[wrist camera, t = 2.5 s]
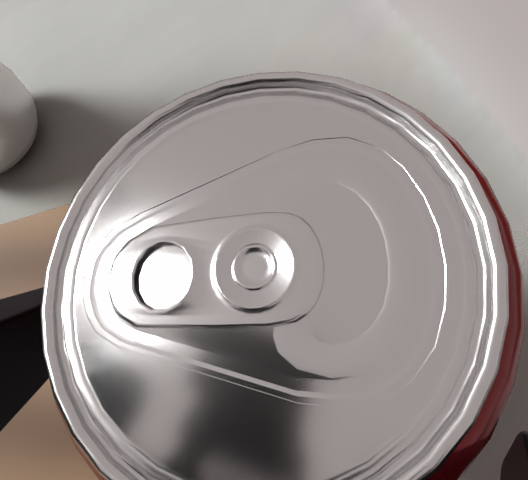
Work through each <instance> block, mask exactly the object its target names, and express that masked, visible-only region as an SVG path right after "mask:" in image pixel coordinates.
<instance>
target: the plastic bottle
mask: <svg viewBox="0 0 528 480" xmlns="http://www.w3.org/2000/svg"><path fill="white" fill-rule="evenodd" d="M37 128H38V118H37V112H36V107H35V103H34V100H33V97H32V95H31V94H30V92H29V91H28V90H27V89H26V87H25V86H24V85H23V84H22V82H21V81H20V80H19V79H18V78H17V76H16V75H15V74H14V73H13V72H12V70H11V69H9V68H8V67H7V66H5V65H4V64H2V63H1V62H0V173H2V172H4V171H6V170H8V169H9V168H11V167H13V166H14V165H15V164H16V163H17V162H19V161H20V160H21V159H22V158H23V156H24V155H25V154H26V153H27V151H28V150H29V148H30V147H31V145H32V143H33V141H34V139H35V136H36V132H37Z"/></svg>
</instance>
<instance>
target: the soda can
mask: <svg viewBox="0 0 528 480" xmlns="http://www.w3.org/2000/svg"><path fill="white" fill-rule="evenodd" d="M41 321H42V340H43V355H44V359H45V363H46V368H47V372H48V376H49V380H50V384H51V388H52V393H53V397H54V399H55V403H56V406H57V409H58V411H59V413H60V415H61V417H62V420H63V422H64V424H65V426H66V428H67V430H68V433H69V435H70V437H71V439H72V441H73V444H74V446H75V448H76V449H77V450H78V452H79V453H80V455H81V456H82V457H83V459H84V460H85V461H86V463H87V464H88V465H89V467H90V468H91V470H92V471H93V472H94V474H95V475H96V476H97V478H98V479H99V480H459V479H460V478H461V476H462V475H463V474H464V472H465V471H466V470H467V469H468V467H469V466H470V465H471V463H472V462H473V461H474V459H475V458H476V457H477V455H478V454H479V453H480V451H481V450H482V449H483V447H484V446H485V445H486V444H487V442H488V441H489V440H490V438H491V436H492V434H493V431H494V429H495V427H496V425H497V422H498V420H499V418H500V416H501V413H502V411H503V409H504V407H505V404H506V402H507V400H508V398H509V395H510V393H511V391H512V389H513V387H514V382H515V377H516V372H517V367H518V362H519V357H520V352H521V347H522V341H523V336H524V331H525V326H524V293H523V275H522V271H521V267H520V263H519V259H518V255H517V251H516V247H515V243H514V239H513V235H512V231H511V228H510V225H509V222H508V220H507V218H506V216H505V214H504V212H503V210H502V208H501V206H500V204H499V202H498V200H497V198H496V196H495V194H494V192H493V190H492V188H491V186H490V184H489V182H488V180H487V178H486V177H485V176H484V175H483V173H482V172H481V171H480V170H479V168H478V167H477V166H476V165H475V163H474V162H473V161H472V160H471V158H470V157H469V156H468V155H467V153H466V152H465V151H464V150H463V148H462V147H461V146H460V144H459V143H458V142H457V141H456V140H455V139H453V138H452V137H451V136H450V135H449V134H447V133H446V132H445V131H444V130H443V129H441V128H440V127H439V126H438V125H437V124H435V123H434V122H433V121H432V120H431V119H429V118H428V117H427V116H426V115H425V114H423V113H422V112H420V111H418V110H416V109H414V108H413V107H411V106H409V105H407V104H405V103H404V102H402V101H400V100H398V99H396V98H395V97H393V96H391V95H389V94H387V93H385V92H382V91H379V90H376V89H373V88H370V87H367V86H364V85H361V84H358V83H355V82H352V81H349V80H346V79H342V78H339V77H333V76H326V75H318V74H311V73H304V72H273V73H256V74H251V75H246V76H241V77H236V78H231V79H226V80H221V81H219V82H216V83H213V84H210V85H208V86H205V87H202V88H200V89H197V90H194V91H192V92H189V93H186V94H184V95H183V96H181V97H179V98H177V99H175V100H174V101H172V102H170V103H168V104H167V105H165V106H163V107H161V108H159V109H158V110H156V111H154V112H152V113H151V114H150V115H149V116H147V117H146V118H145V119H143V120H142V121H141V122H140V123H138V124H137V125H136V126H134V127H133V128H132V129H131V130H129V131H128V132H127V133H126V134H124V135H123V136H122V137H121V138H120V139H119V140H118V141H117V142H116V143H115V144H114V145H113V147H112V148H111V149H110V150H109V151H108V152H107V153H106V154H105V155H104V156H103V157H102V158H101V159H100V160H99V161H98V162H97V164H96V165H95V166H94V168H93V169H92V171H91V172H90V174H89V175H88V177H87V178H86V179H85V181H84V182H83V184H82V185H81V187H80V188H79V190H78V191H77V193H76V194H75V195H74V197H73V200H72V202H71V204H70V206H69V208H68V210H67V212H66V214H65V216H64V218H63V220H62V222H61V225H60V227H59V229H58V231H57V234H56V237H55V241H54V244H53V247H52V251H51V254H50V258H49V261H48V264H47V268H46V273H45V281H44V290H43V298H42V306H41Z"/></svg>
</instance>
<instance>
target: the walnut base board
mask: <svg viewBox="0 0 528 480" xmlns="http://www.w3.org/2000/svg"><path fill="white" fill-rule="evenodd" d="M69 206H70V204H67V205H64V206H61V207H58V208H54V209H51V210H48V211H45V212H41V213H38V214H35V215H31V216H28V217H25V218H22V219H18V220H15V221H12V222H8V223H5V224H2V225H0V299H3V298H6V297H10V296H14V295H17V294H21V293H24V292H28V291H32V290H35V289H39V288H42V287H44V281H45V273H46V268H47V264H48V261H49V258H50V254H51V251H52V247H53V244H54V241H55V237H56V234H57V231H58V229H59V227H60V225H61V222H62V220H63V218H64V216H65V214H66V212H67V210H68V208H69ZM0 480H99V479H98V478H97V476H96V475H95V474H94V472H93V471H92V470H91V468H90V467H89V465H88V464H87V463H86V461H85V460H84V459H83V457H82V456H81V455H80V453H79V452H78V450H77V449H76V448H75V446H74V444H73V441H72V439H71V437H70V435H69V433H68V430H67V428H66V426H65V424H64V422H63V420H62V417H61V415H60V413H59V411H58V409H57V406H56V403H55V399H54V397H53V393H52V388H51V384H50V380H49V379H48V380H47V381H46V382H45V383H44V384H43V386H42V387H41V388H40V389H39V390H38V391H37V392H36V393H35V394H34V395H33V397H32V398H31V399H30V400H29V401H28V402H27V403H26V404H25V405H24V406H23V408H22V409H21V410H20V411H19V412H18V413H17V414H16V415H15V416H14V417H13V419H12V420H11V421H10V422H9V423H8V424H7V425H6V426H5V427H4V428H3V430H2V431H1V432H0Z"/></svg>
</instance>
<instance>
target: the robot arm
mask: <svg viewBox="0 0 528 480" xmlns="http://www.w3.org/2000/svg"><path fill="white" fill-rule="evenodd" d="M43 290H44V287H42V288H39V289H35V290H32V291H28V292H24V293H21V294H17V295H14V296H10V297H6V298H3V299H0V432H1V431H2V430H3V428H4V427H5V426H6V425H7V424H8V423H9V422H10V421H11V420H12V419H13V417H14V416H15V415H16V414H17V413H18V412H19V411H20V410H21V409H22V408H23V406H24V405H25V404H26V403H27V402H28V401H29V400H30V399H31V398H32V397H33V395H34V394H35V393H36V392H37V391H38V390H39V389H40V388H41V387H42V386H43V384H44V383H45V382H46V381H47V380H48V379H49V376H48V372H47V368H46V363H45V359H44V355H43V340H42V321H41V306H42V298H43ZM500 480H528V432H524V431H523V432H520V433H519V434H518V435H517V437H516V438H515V440H514V442H513V444H512V446H511V448H510V449H509V451H508V453H507V455H506V457H505V459H504V461H503V464H502V468H501V478H500Z"/></svg>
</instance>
